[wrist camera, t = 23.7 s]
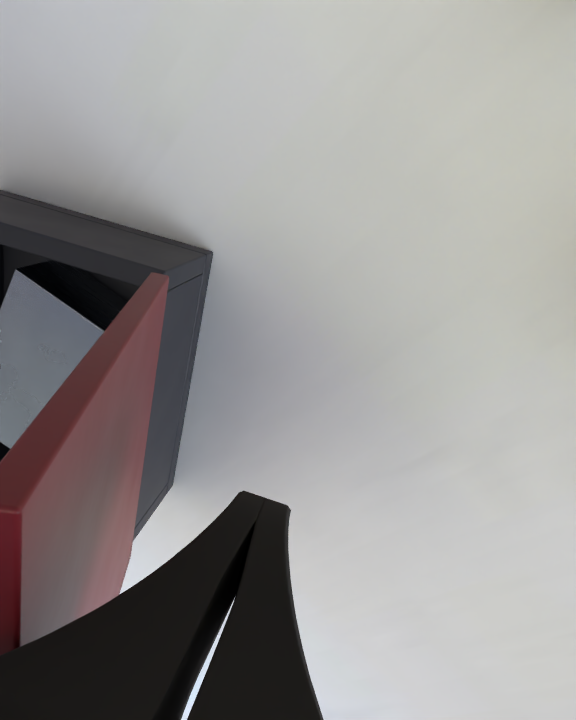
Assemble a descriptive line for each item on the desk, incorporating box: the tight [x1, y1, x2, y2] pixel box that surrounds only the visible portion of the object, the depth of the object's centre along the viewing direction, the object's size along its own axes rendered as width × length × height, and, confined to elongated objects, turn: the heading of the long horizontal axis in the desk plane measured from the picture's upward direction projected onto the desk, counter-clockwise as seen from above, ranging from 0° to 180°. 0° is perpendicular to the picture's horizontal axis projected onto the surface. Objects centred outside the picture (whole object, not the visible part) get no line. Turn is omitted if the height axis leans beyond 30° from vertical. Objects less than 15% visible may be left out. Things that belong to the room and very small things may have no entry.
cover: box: [0, 272, 169, 655], centre depth 13 cm, size 11×13×1 cm
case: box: [0, 190, 213, 540], centre depth 20 cm, size 10×13×5 cm
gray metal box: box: [0, 260, 128, 449], centre depth 20 cm, size 4×8×3 cm, turn 146°
